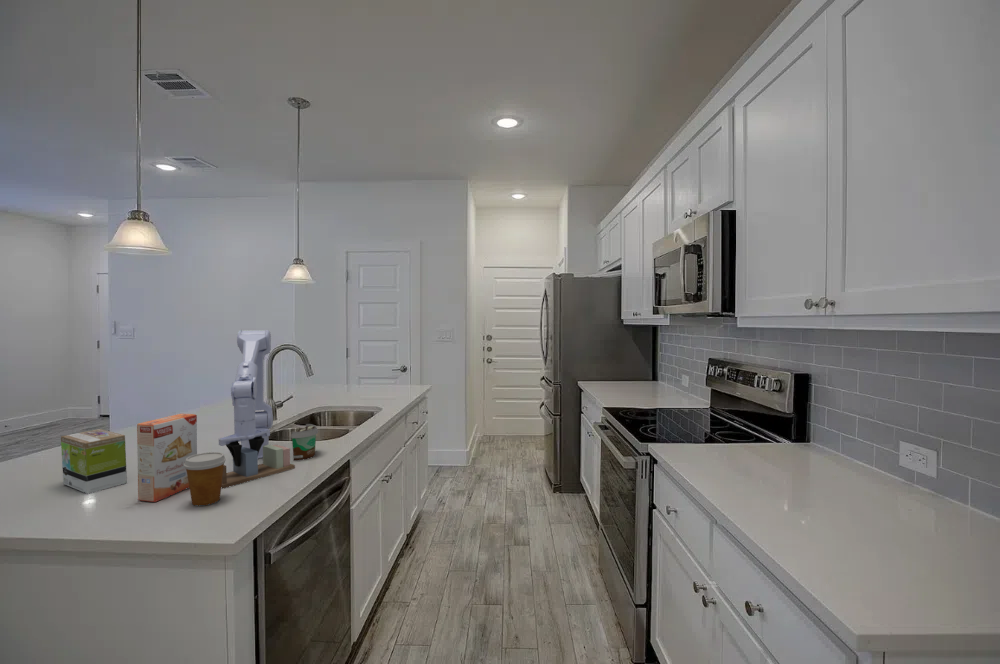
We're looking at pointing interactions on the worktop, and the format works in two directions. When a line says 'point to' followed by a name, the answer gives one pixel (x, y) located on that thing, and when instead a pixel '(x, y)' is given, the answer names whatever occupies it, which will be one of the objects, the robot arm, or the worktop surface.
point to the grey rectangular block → (247, 463)
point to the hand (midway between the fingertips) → (245, 463)
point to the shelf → (263, 471)
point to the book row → (276, 456)
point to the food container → (304, 442)
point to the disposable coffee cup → (205, 477)
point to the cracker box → (164, 455)
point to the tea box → (93, 460)
